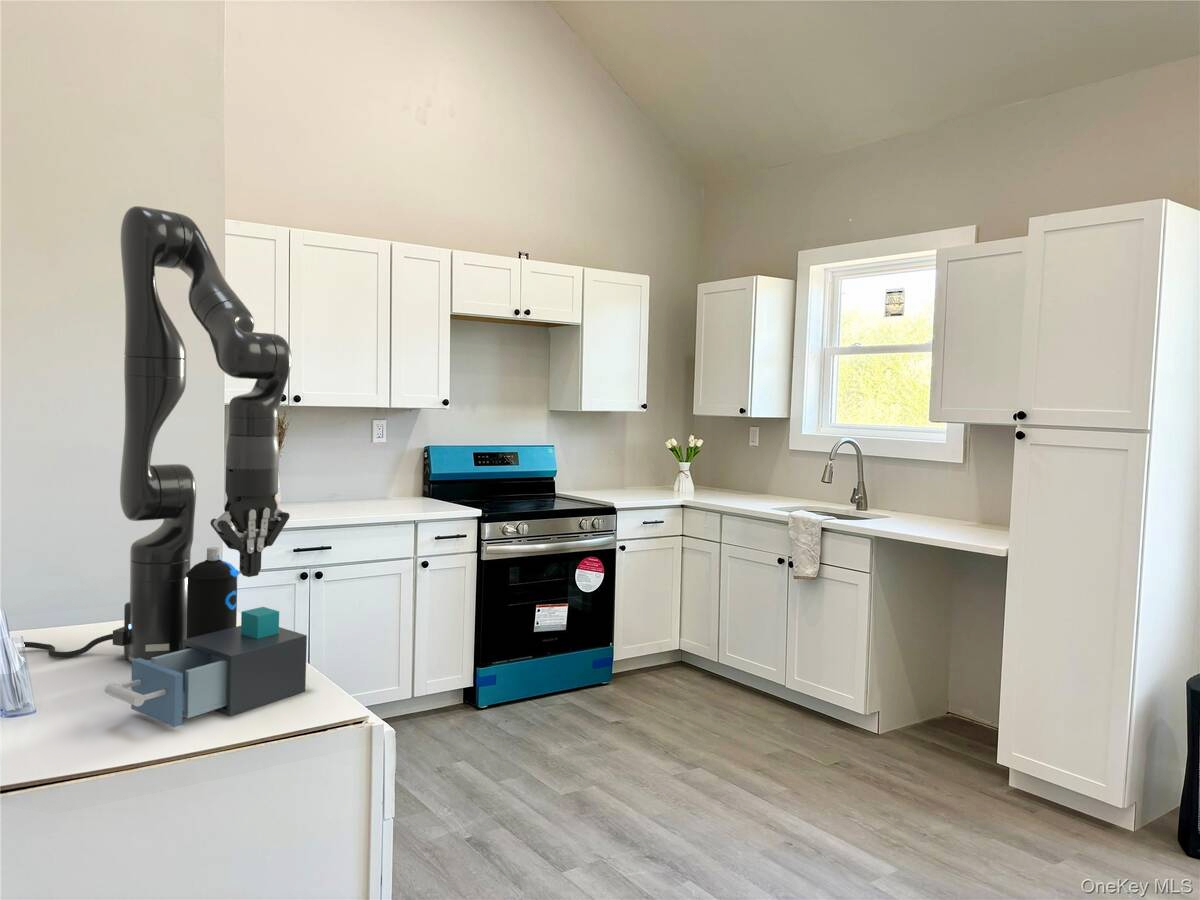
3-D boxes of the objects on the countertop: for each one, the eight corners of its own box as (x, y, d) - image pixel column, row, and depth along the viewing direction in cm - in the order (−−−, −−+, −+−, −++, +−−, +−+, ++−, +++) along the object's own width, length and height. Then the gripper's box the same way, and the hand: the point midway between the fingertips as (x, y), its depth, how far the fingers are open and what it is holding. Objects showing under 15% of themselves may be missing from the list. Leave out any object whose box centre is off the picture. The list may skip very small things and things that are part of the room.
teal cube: (257, 639, 137) (257, 616, 137) (240, 634, 139) (241, 611, 139) (278, 633, 141) (279, 611, 140) (262, 628, 143) (263, 606, 143)
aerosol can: (185, 674, 146) (187, 554, 144) (183, 659, 153) (185, 544, 151) (239, 669, 149) (242, 552, 148) (235, 654, 157) (237, 542, 155)
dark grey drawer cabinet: (229, 716, 130) (231, 656, 129) (182, 697, 136) (182, 639, 135) (305, 691, 142) (306, 635, 141) (258, 674, 148) (259, 620, 147)
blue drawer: (140, 738, 119) (141, 685, 118) (97, 718, 125) (97, 668, 124) (251, 701, 134) (253, 654, 133) (209, 685, 139) (209, 639, 139)
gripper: (272, 459, 144) (270, 565, 145) (198, 464, 132) (196, 578, 134) (304, 464, 140) (301, 572, 141) (229, 469, 128) (227, 587, 130)
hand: (249, 575), depth 138 cm, fingers closed
